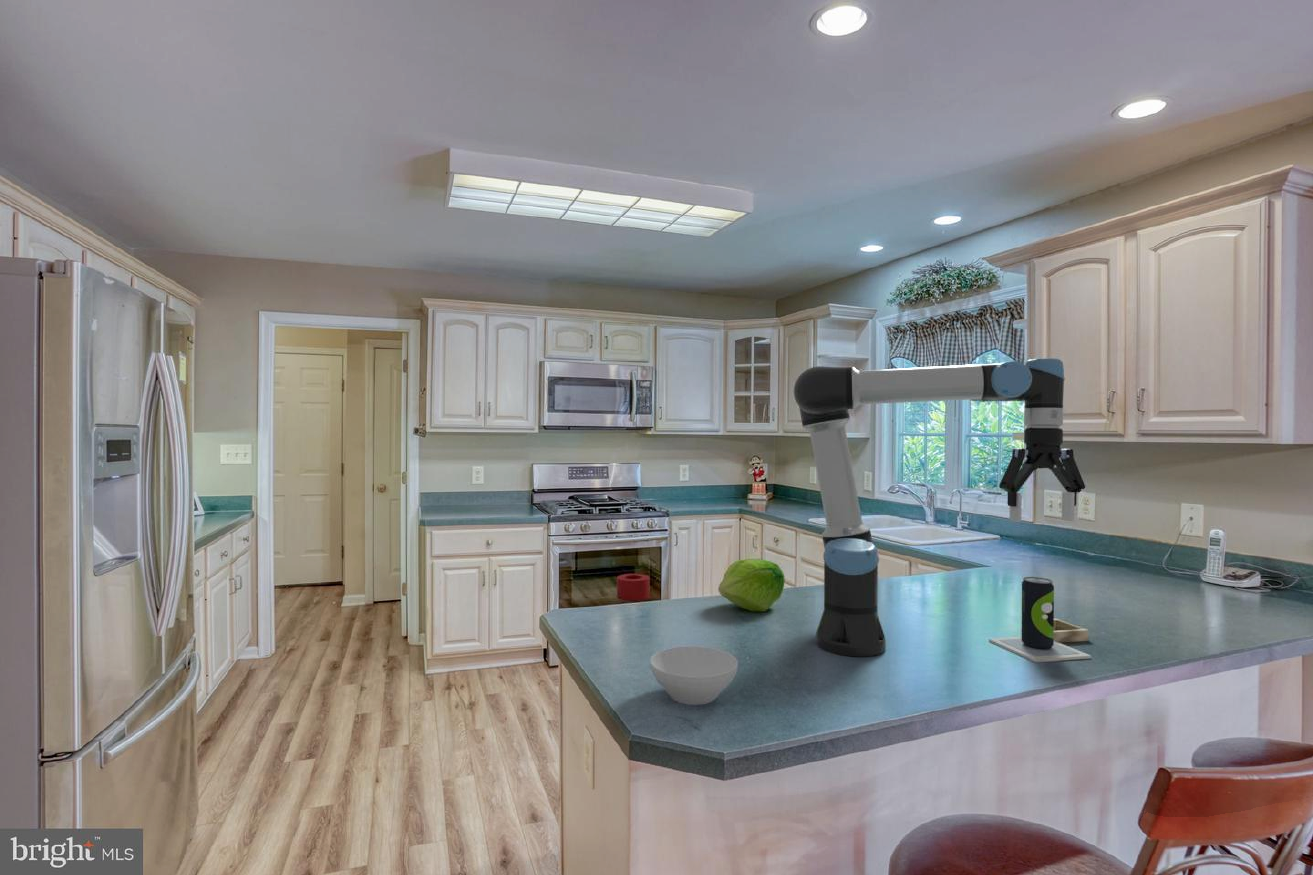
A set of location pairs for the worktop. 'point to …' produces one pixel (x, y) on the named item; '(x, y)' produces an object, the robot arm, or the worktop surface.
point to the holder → (1069, 632)
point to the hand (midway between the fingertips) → (1041, 520)
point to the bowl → (693, 672)
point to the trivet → (1038, 655)
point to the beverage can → (1037, 613)
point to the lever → (633, 587)
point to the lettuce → (753, 584)
